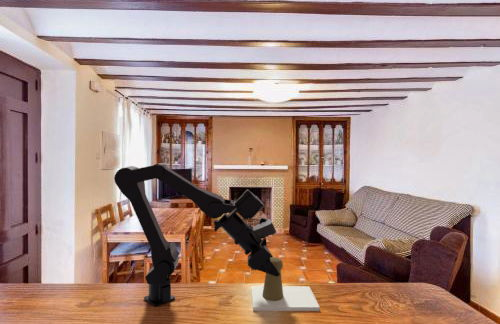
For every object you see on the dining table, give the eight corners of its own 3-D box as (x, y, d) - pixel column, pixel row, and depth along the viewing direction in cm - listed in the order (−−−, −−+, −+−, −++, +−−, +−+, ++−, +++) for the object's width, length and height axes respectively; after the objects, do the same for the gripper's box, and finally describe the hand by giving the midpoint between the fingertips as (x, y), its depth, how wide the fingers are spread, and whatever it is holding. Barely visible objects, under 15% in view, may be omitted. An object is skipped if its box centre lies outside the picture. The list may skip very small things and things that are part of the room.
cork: (282, 302, 92) (283, 263, 92) (260, 299, 94) (261, 261, 93) (284, 292, 98) (285, 256, 98) (264, 290, 100) (265, 254, 99)
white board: (253, 310, 89) (253, 307, 89) (251, 289, 102) (251, 286, 102) (319, 310, 90) (319, 307, 90) (309, 289, 103) (309, 286, 103)
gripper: (262, 218, 85) (303, 261, 86) (257, 204, 104) (291, 240, 105) (230, 248, 85) (272, 290, 86) (231, 229, 104) (266, 264, 105)
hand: (276, 268), depth 95 cm, fingers open, 9 cm apart
